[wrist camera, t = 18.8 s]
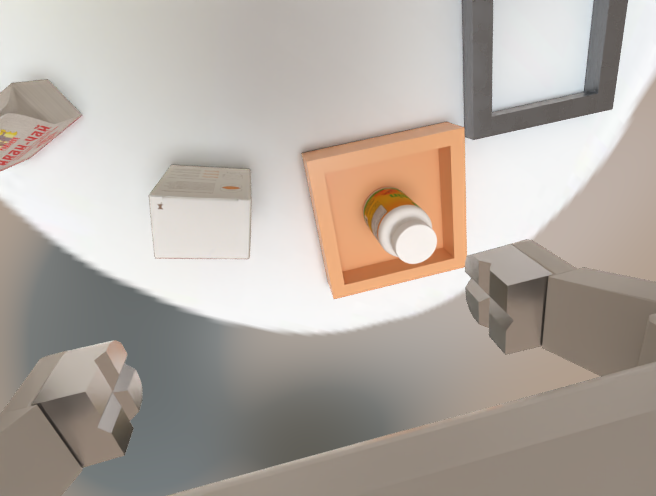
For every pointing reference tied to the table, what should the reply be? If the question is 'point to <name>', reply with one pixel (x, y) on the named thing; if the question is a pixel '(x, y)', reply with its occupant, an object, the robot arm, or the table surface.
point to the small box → (202, 213)
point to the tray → (378, 172)
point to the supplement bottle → (400, 225)
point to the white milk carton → (31, 119)
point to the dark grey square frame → (593, 99)
